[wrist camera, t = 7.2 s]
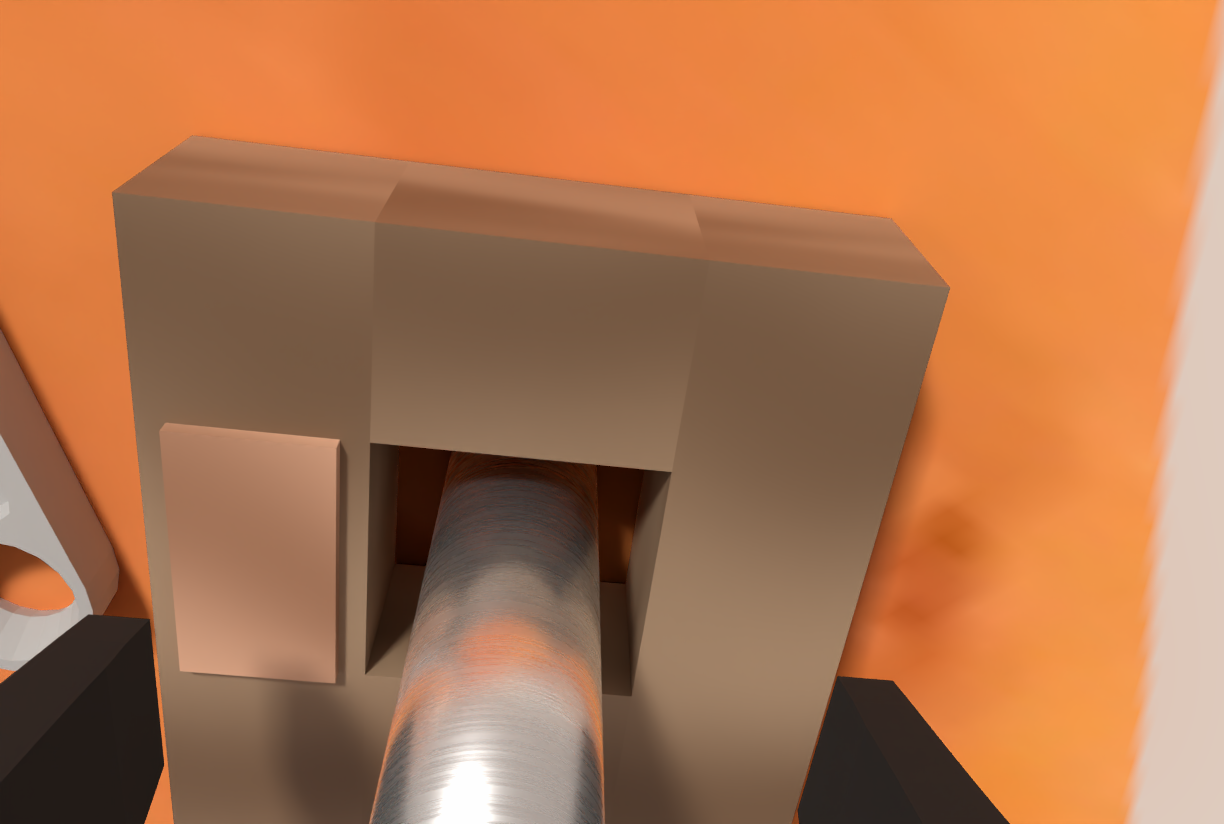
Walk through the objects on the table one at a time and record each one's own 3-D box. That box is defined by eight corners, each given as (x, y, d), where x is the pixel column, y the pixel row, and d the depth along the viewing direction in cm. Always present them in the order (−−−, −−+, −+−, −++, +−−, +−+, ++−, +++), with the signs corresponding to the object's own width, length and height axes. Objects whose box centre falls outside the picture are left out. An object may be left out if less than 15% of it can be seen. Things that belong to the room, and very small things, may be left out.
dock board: (679, 1038, 22) (690, 1181, 20) (244, 1015, 21) (202, 1160, 19) (891, 218, 14) (955, 294, 11) (192, 135, 13) (104, 197, 11)
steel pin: (587, 543, 16) (592, 1080, 9) (444, 530, 16) (333, 1067, 9) (605, 418, 15) (625, 913, 8) (452, 402, 15) (334, 895, 8)
